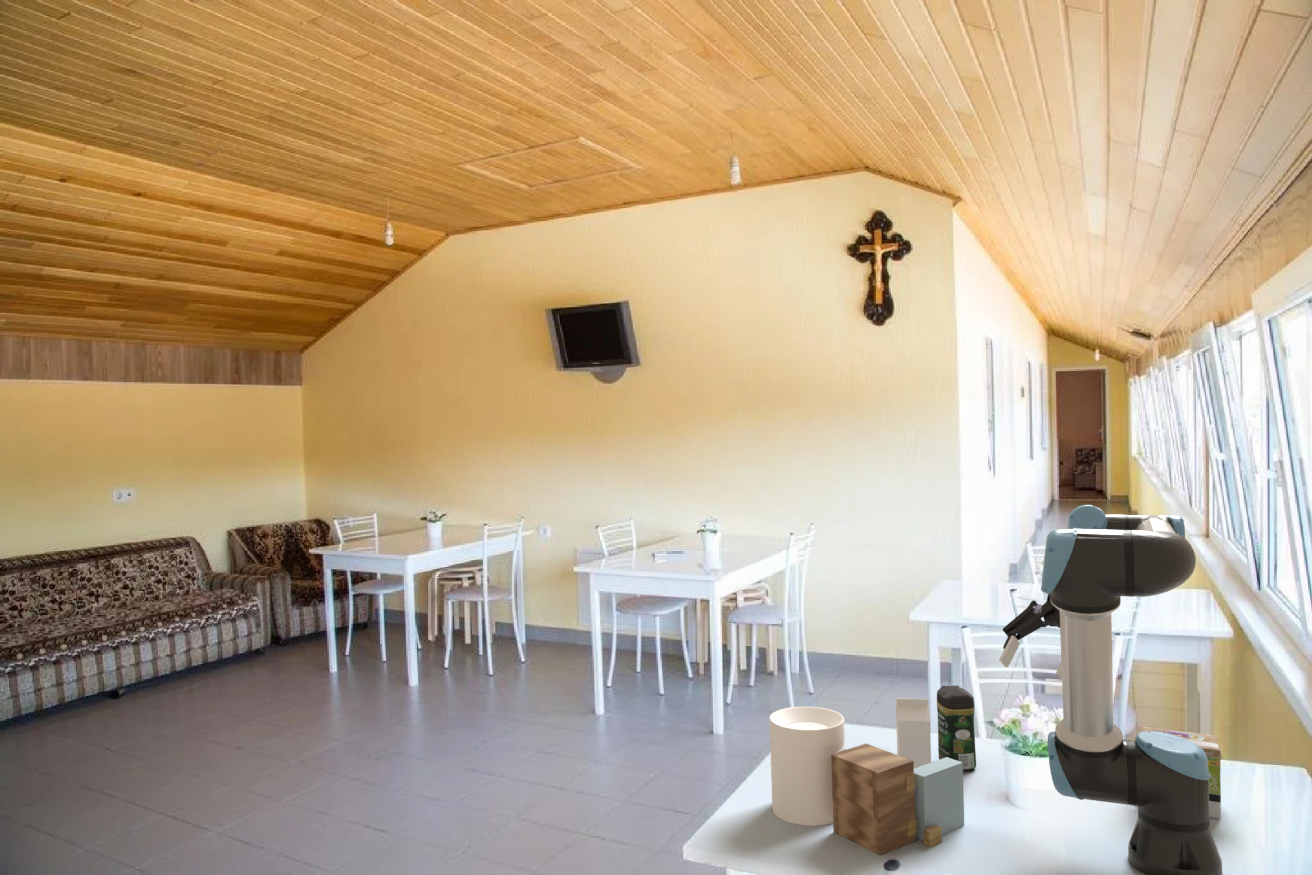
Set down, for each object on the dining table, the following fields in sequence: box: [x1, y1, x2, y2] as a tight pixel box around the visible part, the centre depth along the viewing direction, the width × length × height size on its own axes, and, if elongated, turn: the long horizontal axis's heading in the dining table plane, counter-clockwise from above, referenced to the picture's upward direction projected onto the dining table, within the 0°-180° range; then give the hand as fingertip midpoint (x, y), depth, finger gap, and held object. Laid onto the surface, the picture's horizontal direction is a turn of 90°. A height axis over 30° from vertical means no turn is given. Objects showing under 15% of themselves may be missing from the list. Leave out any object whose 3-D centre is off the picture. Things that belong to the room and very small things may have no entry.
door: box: [914, 757, 965, 842], centre depth 188 cm, size 4×12×13 cm, turn 124°
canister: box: [769, 706, 846, 827], centre depth 200 cm, size 16×16×20 cm
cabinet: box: [831, 743, 943, 856], centre depth 186 cm, size 16×14×16 cm
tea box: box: [1138, 725, 1222, 820], centre depth 196 cm, size 15×10×15 cm
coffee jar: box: [936, 684, 977, 772], centre depth 222 cm, size 10×8×19 cm
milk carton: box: [895, 697, 932, 768], centre depth 214 cm, size 7×7×19 cm
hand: (1031, 670), depth 196 cm, fingers open, 13 cm apart
